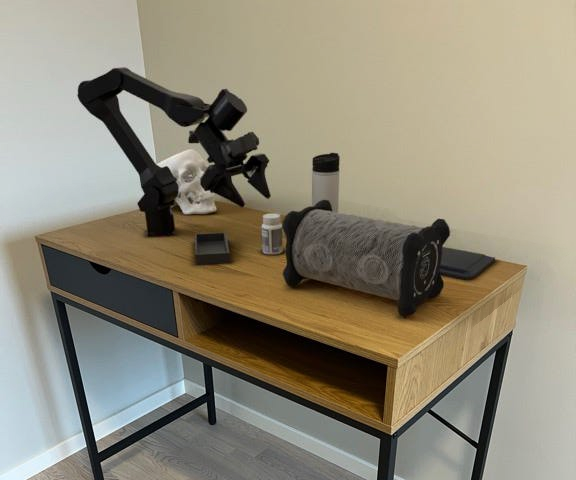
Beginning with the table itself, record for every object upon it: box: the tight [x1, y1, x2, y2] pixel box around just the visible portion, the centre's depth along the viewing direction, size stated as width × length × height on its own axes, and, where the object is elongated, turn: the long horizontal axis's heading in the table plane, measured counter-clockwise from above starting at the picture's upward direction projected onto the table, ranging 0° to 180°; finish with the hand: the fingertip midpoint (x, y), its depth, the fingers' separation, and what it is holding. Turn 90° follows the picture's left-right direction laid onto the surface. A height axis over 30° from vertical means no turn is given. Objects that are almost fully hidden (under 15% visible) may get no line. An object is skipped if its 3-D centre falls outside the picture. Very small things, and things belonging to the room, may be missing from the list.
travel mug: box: [311, 152, 341, 213], centre depth 139 cm, size 6×7×20 cm
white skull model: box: [156, 148, 217, 216], centre depth 170 cm, size 14×20×19 cm
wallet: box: [440, 246, 496, 281], centre depth 130 cm, size 20×2×15 cm
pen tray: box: [194, 231, 231, 266], centre depth 137 cm, size 16×8×2 cm, turn 8°
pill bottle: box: [261, 212, 284, 255], centre depth 136 cm, size 5×5×8 cm
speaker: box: [281, 200, 451, 318], centre depth 112 cm, size 15×28×15 cm, turn 53°
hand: (256, 201), depth 134 cm, fingers open, 9 cm apart
